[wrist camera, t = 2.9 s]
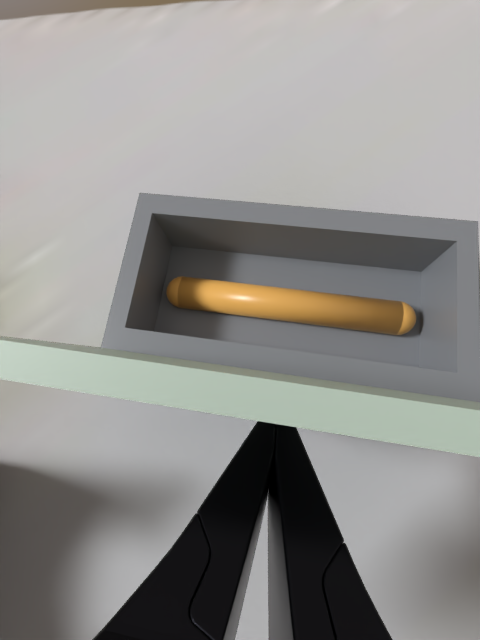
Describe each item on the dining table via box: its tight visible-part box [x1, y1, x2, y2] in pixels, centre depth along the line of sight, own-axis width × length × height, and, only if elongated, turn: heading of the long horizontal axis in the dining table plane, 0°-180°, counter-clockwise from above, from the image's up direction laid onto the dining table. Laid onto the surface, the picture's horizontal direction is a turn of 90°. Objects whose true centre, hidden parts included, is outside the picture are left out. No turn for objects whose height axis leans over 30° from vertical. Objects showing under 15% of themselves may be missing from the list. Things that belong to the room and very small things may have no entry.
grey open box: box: [101, 193, 480, 402], centre depth 19 cm, size 9×18×5 cm, turn 81°
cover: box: [0, 336, 480, 457], centre depth 11 cm, size 9×18×1 cm
